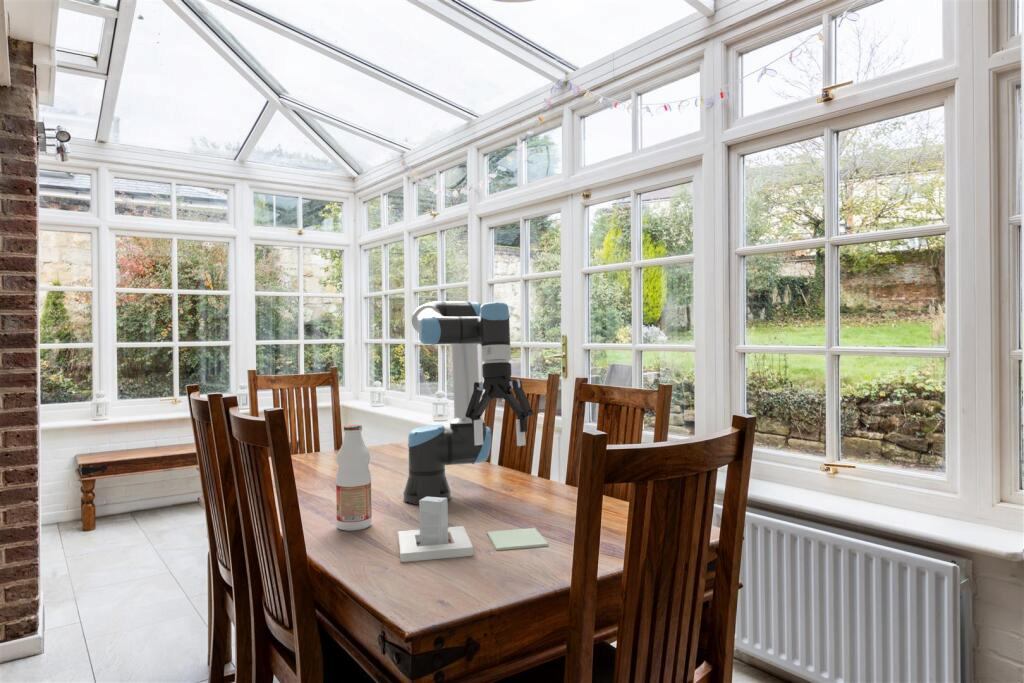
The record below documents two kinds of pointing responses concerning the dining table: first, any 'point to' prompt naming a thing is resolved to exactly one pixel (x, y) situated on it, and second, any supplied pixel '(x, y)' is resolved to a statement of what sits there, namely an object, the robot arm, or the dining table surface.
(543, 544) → the pad
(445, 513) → the skincare box
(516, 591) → the dining table surface
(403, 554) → the white frame
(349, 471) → the fruit juice
